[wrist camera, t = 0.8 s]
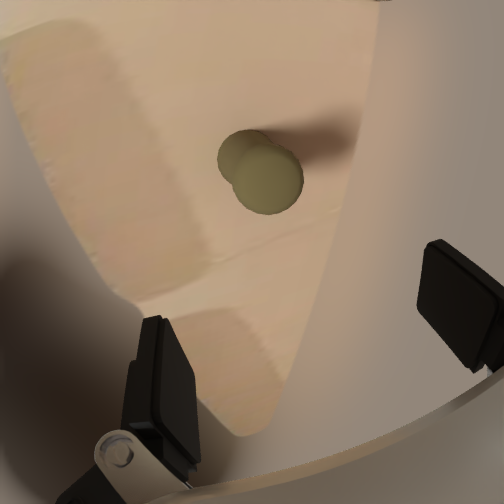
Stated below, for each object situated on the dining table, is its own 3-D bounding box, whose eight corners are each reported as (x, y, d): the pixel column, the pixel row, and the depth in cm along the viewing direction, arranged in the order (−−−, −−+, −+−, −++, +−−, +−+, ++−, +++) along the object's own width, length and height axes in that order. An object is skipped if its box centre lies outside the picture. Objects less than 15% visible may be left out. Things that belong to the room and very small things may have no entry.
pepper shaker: (285, 141, 30) (328, 158, 20) (264, 194, 32) (296, 236, 22) (228, 121, 28) (246, 127, 18) (209, 178, 30) (216, 213, 20)
